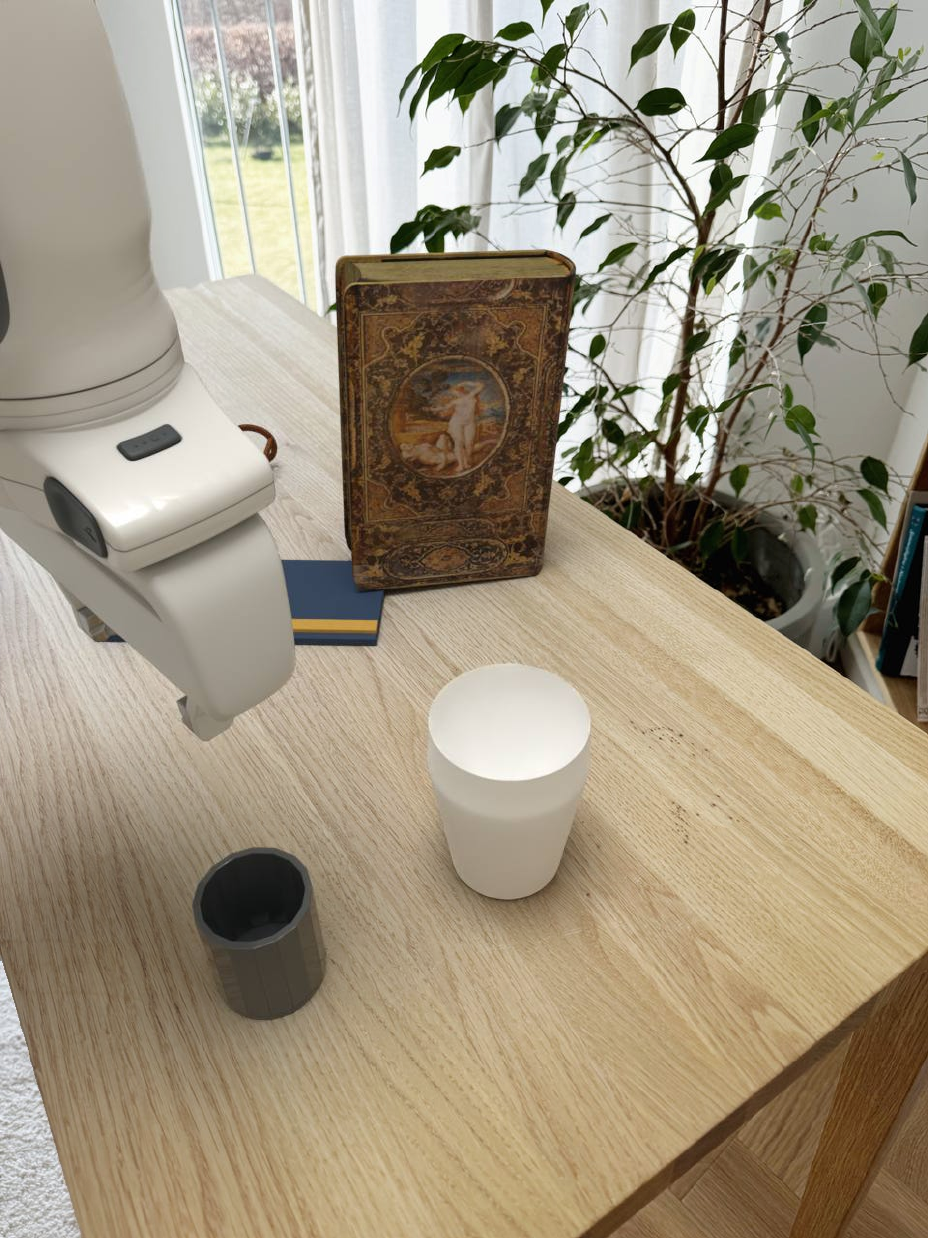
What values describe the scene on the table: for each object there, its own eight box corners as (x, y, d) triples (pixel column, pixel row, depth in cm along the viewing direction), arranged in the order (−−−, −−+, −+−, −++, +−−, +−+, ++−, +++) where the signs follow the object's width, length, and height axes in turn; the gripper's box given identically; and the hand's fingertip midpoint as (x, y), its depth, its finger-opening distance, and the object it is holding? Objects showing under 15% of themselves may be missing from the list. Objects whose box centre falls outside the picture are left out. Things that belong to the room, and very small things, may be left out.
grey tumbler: (205, 1018, 52) (179, 947, 47) (230, 919, 56) (208, 845, 52) (317, 1022, 52) (301, 950, 47) (332, 922, 56) (319, 848, 52)
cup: (469, 942, 55) (467, 807, 47) (410, 825, 61) (400, 689, 54) (606, 885, 58) (626, 749, 50) (537, 779, 64) (544, 643, 56)
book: (532, 537, 85) (562, 248, 69) (549, 574, 81) (585, 276, 65) (345, 553, 82) (332, 255, 66) (353, 592, 78) (341, 284, 62)
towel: (94, 641, 75) (90, 630, 75) (132, 563, 83) (129, 553, 82) (376, 646, 75) (375, 635, 74) (388, 567, 82) (388, 556, 81)
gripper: (-112, 358, 41) (-7, 609, 50) (141, 559, 30) (218, 835, 39) (28, 315, 45) (103, 557, 54) (302, 481, 34) (339, 751, 42)
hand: (153, 676), depth 46 cm, fingers open, 8 cm apart
